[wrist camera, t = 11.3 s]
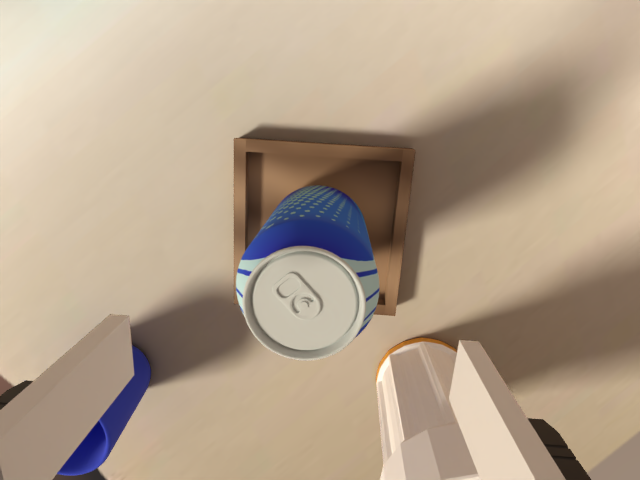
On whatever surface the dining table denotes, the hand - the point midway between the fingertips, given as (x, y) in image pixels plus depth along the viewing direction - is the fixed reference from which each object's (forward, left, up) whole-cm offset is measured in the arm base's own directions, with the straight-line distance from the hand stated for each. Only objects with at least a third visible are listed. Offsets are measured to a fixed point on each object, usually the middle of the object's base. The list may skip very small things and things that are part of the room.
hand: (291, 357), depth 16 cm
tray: (0, 0, -22) cm, 22 cm away
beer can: (0, 0, -22) cm, 22 cm away
